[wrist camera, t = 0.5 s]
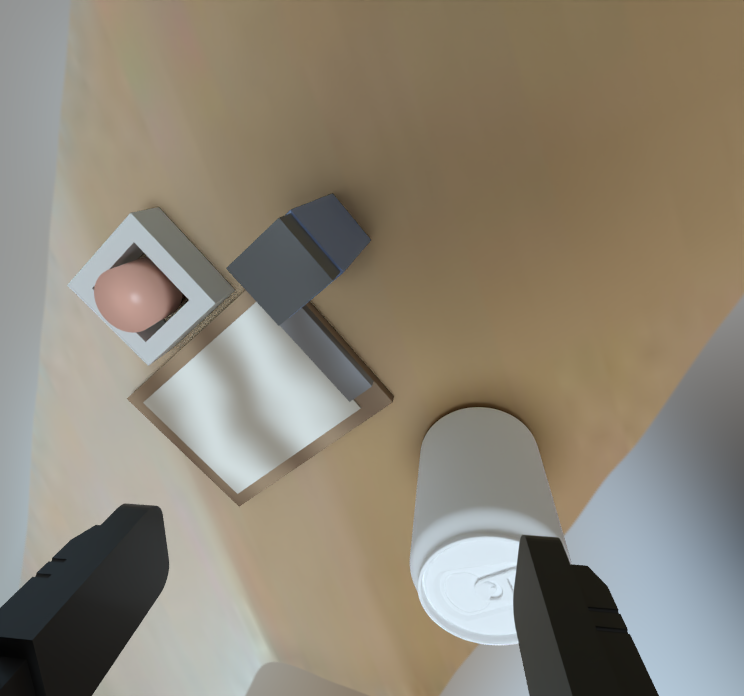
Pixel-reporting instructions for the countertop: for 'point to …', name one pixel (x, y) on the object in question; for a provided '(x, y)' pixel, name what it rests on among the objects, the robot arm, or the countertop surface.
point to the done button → (136, 295)
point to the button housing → (174, 260)
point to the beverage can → (477, 520)
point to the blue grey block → (299, 256)
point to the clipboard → (259, 395)
